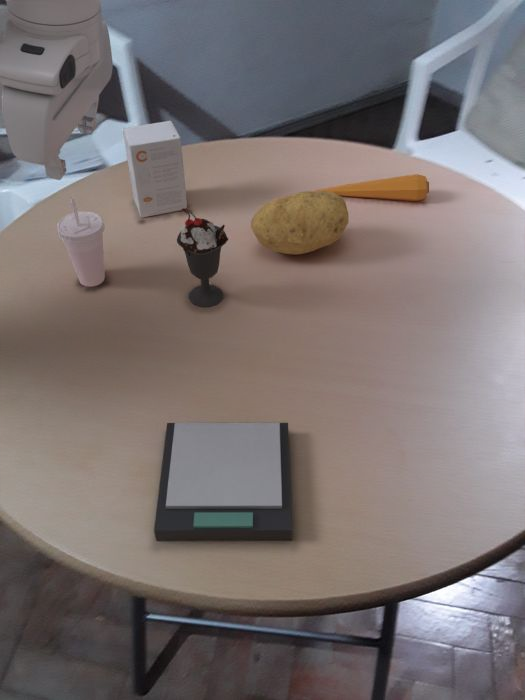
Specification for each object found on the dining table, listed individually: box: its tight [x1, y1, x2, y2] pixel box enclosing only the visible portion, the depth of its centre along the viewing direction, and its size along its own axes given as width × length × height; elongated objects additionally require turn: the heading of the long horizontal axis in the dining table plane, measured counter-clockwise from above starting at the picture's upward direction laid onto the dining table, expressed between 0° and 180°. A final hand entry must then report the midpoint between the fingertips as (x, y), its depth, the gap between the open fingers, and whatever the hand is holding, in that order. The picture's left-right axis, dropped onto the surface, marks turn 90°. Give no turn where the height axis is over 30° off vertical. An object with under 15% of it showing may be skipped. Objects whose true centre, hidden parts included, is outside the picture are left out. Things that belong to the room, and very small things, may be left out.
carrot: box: [315, 173, 430, 202], centre depth 116 cm, size 20×4×4 cm, turn 85°
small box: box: [122, 120, 188, 218], centre depth 110 cm, size 8×6×13 cm
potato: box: [250, 190, 349, 256], centre depth 103 cm, size 10×14×10 cm
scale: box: [153, 422, 293, 542], centre depth 74 cm, size 14×14×3 cm
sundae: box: [176, 207, 229, 308], centre depth 92 cm, size 7×7×15 cm
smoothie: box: [56, 196, 106, 288], centre depth 96 cm, size 6×6×14 cm
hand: (72, 152), depth 79 cm, fingers open, 8 cm apart
